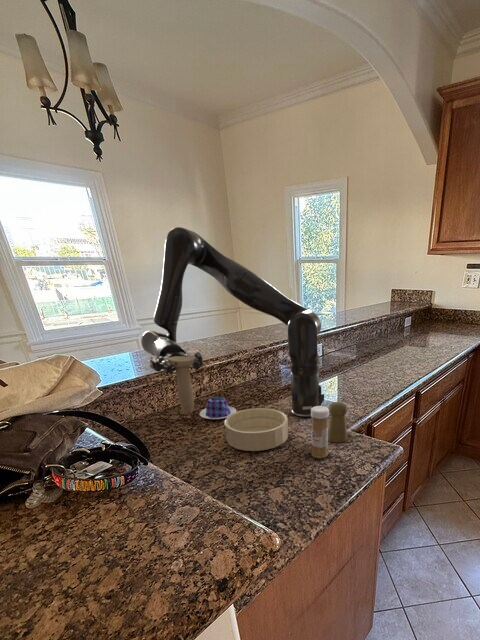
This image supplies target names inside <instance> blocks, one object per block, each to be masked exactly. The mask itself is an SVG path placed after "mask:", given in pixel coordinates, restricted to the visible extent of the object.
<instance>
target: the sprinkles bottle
mask: <svg viewBox="0 0 480 640" xmlns="http://www.w3.org/2000/svg"><path fill="white" fill-rule="evenodd" d="M329 416H330V411H329V407H327V406H323V405H321V406H315V407H313V408H312V409H311V431H310V432H311V434H310V435H311V436H310V437H311V438H310V444H311V452H310V455H311V456H312V458H314V459H324V458H326V457H327V456H328V455H329V453H328V445H329V440H328V429H329Z"/></svg>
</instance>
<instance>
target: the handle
mask: <svg viewBox="0 0 480 640" xmlns="http://www.w3.org/2000/svg"><path fill="white" fill-rule="evenodd" d="M168 362H169V363H170V364H171V365H172V366H174V367H175V369H176V370H175V375H176V387H177V396H178V402H179V405H180V409H181V412H182V413H184V414H191V413H193V412H195V395H194V388H193V383H192V379H191V372H190V368H191V367H190V366H191V365H193V364H194V358H191V357H185V356H174V357H170V358H168Z"/></svg>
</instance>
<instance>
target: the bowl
mask: <svg viewBox="0 0 480 640" xmlns="http://www.w3.org/2000/svg"><path fill="white" fill-rule="evenodd" d="M224 428H225V436H226V442H227V444H228V445H229V446H230V447H232V448H234V449H236V450H240V451H247V452H248V451H249V452H260V451H267V450H271V449H274V448H275V449H276V448H278V447H279V446H281V445H283V444H284V443H285V442H287V440H288V438H289V417H288V416H287V414H285V412H283V411H280V410H277V409H274V408H273V409H272V408H267V407H265V408H264V407H256V408H246V409H242V410H238V411H236V413H233V414H232V415H230V416H228V417H226V418H225V420H224Z"/></svg>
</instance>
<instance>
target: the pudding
mask: <svg viewBox="0 0 480 640" xmlns="http://www.w3.org/2000/svg"><path fill="white" fill-rule="evenodd" d="M236 412H237V409H236V407H233V406H229V405H228V401H227V399H226V398H225V397H222V396H217V397H216V396H214V397H212V398H209V399H208V400H207V402H206V408H204V409H202V410H201V411H199V416H200V417H201V418H203V419H208V420H221V419H226V418H227V417H228V416H230V415H232V414H233V413H236Z"/></svg>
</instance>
